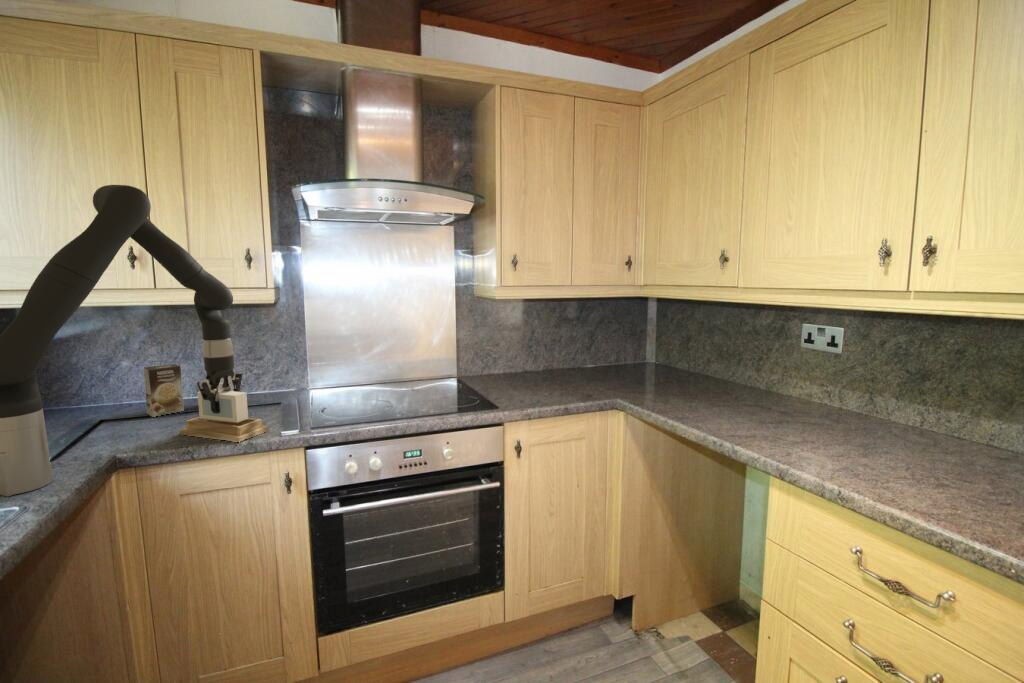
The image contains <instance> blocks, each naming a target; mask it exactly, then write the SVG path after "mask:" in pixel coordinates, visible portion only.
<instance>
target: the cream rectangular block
mask: <svg viewBox="0 0 1024 683" xmlns="http://www.w3.org/2000/svg"><path fill="white" fill-rule="evenodd" d="M247 395H248V394H247V392H246V391H245V392H244V391H239V392H235V391H224V390H222V391H221V393H220V394H219V400H218V401H219V404H220V413H218V414H216V413H213V412H212V411H211V403H210V401H209V400H204V399H203V397H202V395H201V392H200V391H197V404H198V414H199V416H198V417H200V418H202V419H210V420H219V421H227V422H236V423H238V422H241V421H243V420H246V419H248V418H249V412H248V410H249V409H248V399H247ZM214 397H215V393H214Z"/></svg>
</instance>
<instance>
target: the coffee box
mask: <svg viewBox="0 0 1024 683" xmlns="http://www.w3.org/2000/svg"><path fill="white" fill-rule="evenodd" d="M181 370H182V369H181V365H178V364H173V363H172V364H165V365H156V366H146V367H145V366H144V367H143V378H144V390H145V401H146V402H145V403H146V412H147V415H148V414H149V417H152V418H156V416H158V417H162V416H161V415H164V416H167V415H166V414H169V415H172V414H171V413H175V414H177V413H176V412H180V413H182V412H181V411H184V412H185V408H184V407H185V406H184V395H183V385H182V384H183V383H182V371H181Z"/></svg>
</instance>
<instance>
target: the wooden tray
mask: <svg viewBox="0 0 1024 683" xmlns="http://www.w3.org/2000/svg"><path fill="white" fill-rule="evenodd" d="M262 423H263V421H262V419H261V418H252V417H248V419H246V420H243V421H241V422H238V423H236V422H227V421H219V420H210V419H202V418H200V416H197V417H193V418H190V419H188V420H185V426H186V427H184V428H182V429H179V435H180V434H181V435H180V436H183V435H188V436H187V437H190V436H197V437H205V438H214V439H224V440H232V441H236V442H239V443H238V444H241V443H240V441H242V440H245V439H247V438H251V437H253V438H255V437H254V436H256V435H258V436H260V435H262V434H261V433H263V434H265V433H268V432H269V431H270V428H269V426H268V425H263V424H262ZM267 431H268V432H267ZM264 432H265V433H264ZM259 434H260V435H259ZM197 437H196V438H197ZM256 437H257V436H256ZM205 438H204V439H205ZM251 439H252V438H251Z"/></svg>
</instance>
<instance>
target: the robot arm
mask: <svg viewBox="0 0 1024 683" xmlns="http://www.w3.org/2000/svg"><path fill="white" fill-rule="evenodd" d="M92 205H93V207H94V209H95V211H96V212H97V214H96V215H95V217H94V218H93V219H92V222H90V224H89V225H88V226H87V227H86V229H85V230H84V231H83V232H81V233H80V234H79V235H78V236H76V237H75V238H73V239H72V240H71V241H69V242H68V243H67V244H66V245H63V247H61V249H59V250H58V251H56V253H55V254H54V255H53V256H52V257H51V258H50V260H49V261H48V262H47V263H46V265H45V266H44V267H43V268H42V270H41V271H40V272H39V273H38V275H37V277H36V278H35V280H34V281H33V282H32V283H31V284H32V285H31V286H30V288H29V290H28V292H27V293H26V296H25V298H24V300H23V302H22V305H21V307H20V309H19V311H18V312H17V315H16V316H15V317H14V318H13V320H12V321H11V322H10V324H9V325H7V326H6V328H5V329H4V330H3V332H1V333H0V496H3V497H11V496H13V495H17V494H23V493H27V492H31V491H35V490H38V489H40V488H43V487H46V486H48V485H50V483H52V482H53V471H52V465H51V458H50V451H49V443H48V442H49V441H48V437H47V431H46V430H47V428H46V422H45V416H44V408H43V406H44V405H43V400H42V395H41V391H40V389H39V384H38V383H39V382H38V377H37V369H38V367H39V365H40V364H41V361H42V359H43V357H44V356H45V353H46V352H47V350H48V348H49V347H50V345H51V343H52V342H53V340H54V338H55V337H56V335H57V334H58V333H59V331H60V330H61V328H62V327H63V326H64V325H65V324H66V323H67V322H68V321H69V320H70V318H71V317H72V316H73V315H74V313H76V311H77V310H79V307H80V306H81V305H82V304H83V303H84V301H86V299H87V298H88V296H89V295H90V293H91V292H92V291H93V290H94V288H95V287H96V285H97V284H98V282H99V281H100V279H101V277H102V276H103V274H104V273H105V272H106V270H108V268H109V266H110V264H111V263H112V262H113V260H114V259H115V257H116V255H117V254H118V252H120V250H121V249H122V247H123V246H124V244H125V243H126V242H127V241H128V240H129V239H132V240H133V241H134V242H135V243H137V244H138V245H139V246H140V247H141V248H143V249H144V250H145V251H146V252H147V253H148V254H149V255H150V256H152V257H153V259H155V260H156V262H158V263H159V264H160V265H161V267H162V268H164V269H165V270H166V271H167V272H168V273H169V274H170V275H171V276H172V277H173V278H174V279H175V280H176V281H177V282H178V283H179V284H180V286H181V285H182V286H183V287H185V288H186V289H189V290H192V291H194V296H193V303H194V304H193V305H194V307H195V312H196V314H197V316H198V317H197V318H198V320H199V322H200V323H201V331H202V332H201V333H202V354H203V355H202V356H203V366H204V367H203V368H204V371H205V372H207V373H206V375H205V379H203V380H202V381H197V383H196V385H197V387H198V390H199V392H201V395H202V397H203V399H204V400H209V401H210V403H211V411H212V412H213V413H216V414H218V413H220V404H219V401H218V400H219V394H220V393H221V391H222V389H223V390H224V391H235V392H241V386H242V380H243V374H242V373H240V372H239V373H238V372H235V371H234V369H235V358H234V357H235V356H234V346H233V341H232V334H231V333H232V332H231V325H230V321H229V320H228V319H227V318H225V317H223V316H222V313H221V311H225V310H228V309H229V308H230V307H232V305H233V303H234V297H233V293H232V292H231V290H230V288H228V287H227V285H226V284H225V283H223V282H222V281H221V280H219V279H217V277H215V276H214V275H213V274H211V273H209V272H208V271H206V269H204V267H203V266H202V265H201V264H200V263H199V262H198V261H197V260H196V259H195V258H194V257H193V256H192V255H191V254H190V253H189V251H187V250H186V249H185V248H183V247H182V246H181V245H180V244H178V243H177V242H176V241H174V240H173V239H171V237H169V236H168V235H166V234H165V233H164V232H162V231H161V230H160V229H159V228H158V227H157V226H156V225H155V224H154V223H153V222H152V221H151V220H150V219H149V215H150V213H151V208H152V206H151V201H150V199H149V197H148V195H147V194H146V193H145V192H144V191H143V190H142V189H140V188H137V187H135V186H132V185H128V184H127V185H126V184H108V185H102V186H101V187H98V188H97V189H96V190H95V192H94V193H93V195H92ZM209 384H210V385H209ZM214 389H217V390H214ZM214 393H215V397H214Z"/></svg>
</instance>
